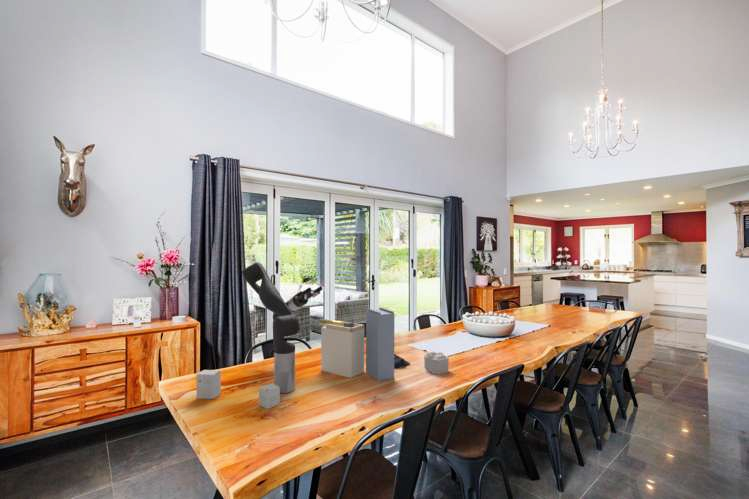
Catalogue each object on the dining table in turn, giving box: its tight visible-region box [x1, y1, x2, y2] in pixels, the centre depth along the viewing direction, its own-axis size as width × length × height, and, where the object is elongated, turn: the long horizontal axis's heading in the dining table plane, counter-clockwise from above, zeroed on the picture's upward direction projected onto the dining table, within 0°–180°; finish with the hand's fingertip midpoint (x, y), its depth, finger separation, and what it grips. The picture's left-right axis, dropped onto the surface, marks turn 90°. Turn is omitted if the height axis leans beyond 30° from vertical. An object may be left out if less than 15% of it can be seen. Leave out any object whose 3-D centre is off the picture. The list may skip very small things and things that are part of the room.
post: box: [365, 307, 395, 382], centre depth 178 cm, size 14×9×33 cm, turn 26°
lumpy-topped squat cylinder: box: [423, 351, 450, 374], centre depth 187 cm, size 10×13×9 cm
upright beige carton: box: [320, 320, 365, 379], centre depth 184 cm, size 20×11×24 cm, turn 56°
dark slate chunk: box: [394, 353, 411, 369], centre depth 200 cm, size 15×22×5 cm
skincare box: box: [258, 383, 281, 410], centre depth 143 cm, size 6×6×7 cm
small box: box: [195, 369, 222, 400], centre depth 151 cm, size 8×6×10 cm
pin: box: [317, 318, 355, 328], centre depth 187 cm, size 22×5×3 cm, turn 56°
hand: (316, 288), depth 188 cm, fingers open, 8 cm apart
